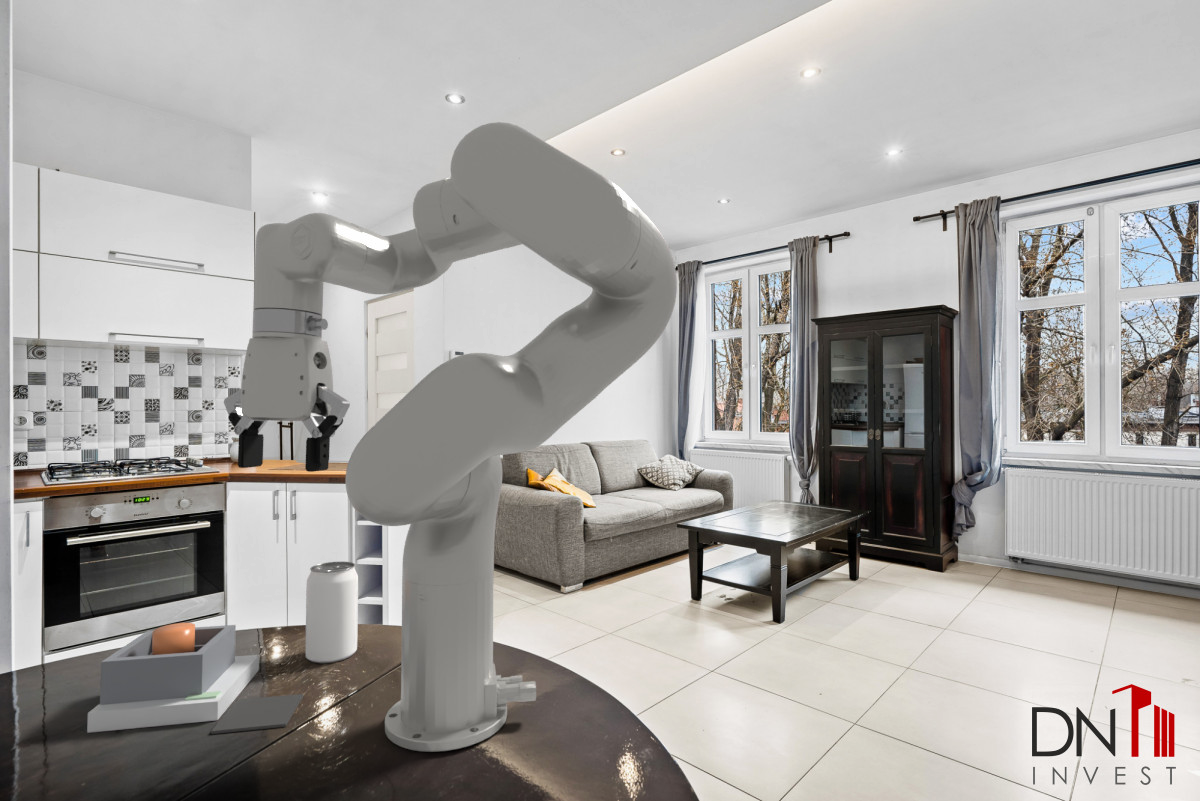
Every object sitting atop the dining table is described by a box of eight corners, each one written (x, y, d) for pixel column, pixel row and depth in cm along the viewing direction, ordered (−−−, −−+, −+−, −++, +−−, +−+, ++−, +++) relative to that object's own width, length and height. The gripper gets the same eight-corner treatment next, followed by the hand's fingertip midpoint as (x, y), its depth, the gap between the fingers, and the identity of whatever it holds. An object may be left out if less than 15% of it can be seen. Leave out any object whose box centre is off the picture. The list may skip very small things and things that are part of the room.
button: (200, 647, 72) (201, 621, 72) (185, 660, 68) (185, 633, 68) (162, 649, 71) (163, 624, 71) (144, 663, 67) (145, 636, 67)
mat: (303, 696, 70) (303, 693, 70) (285, 726, 63) (285, 723, 63) (236, 702, 68) (236, 699, 68) (211, 734, 61) (211, 731, 61)
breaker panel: (258, 670, 77) (259, 619, 77) (217, 720, 64) (218, 658, 64) (152, 678, 74) (153, 625, 75) (87, 732, 62) (88, 668, 62)
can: (297, 655, 82) (298, 566, 82) (343, 642, 87) (344, 558, 87) (318, 668, 78) (320, 574, 78) (366, 653, 82) (367, 565, 83)
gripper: (368, 332, 75) (364, 469, 75) (254, 333, 79) (249, 463, 79) (327, 323, 68) (322, 475, 67) (204, 325, 72) (198, 468, 72)
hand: (283, 468), depth 73 cm, fingers open, 9 cm apart
